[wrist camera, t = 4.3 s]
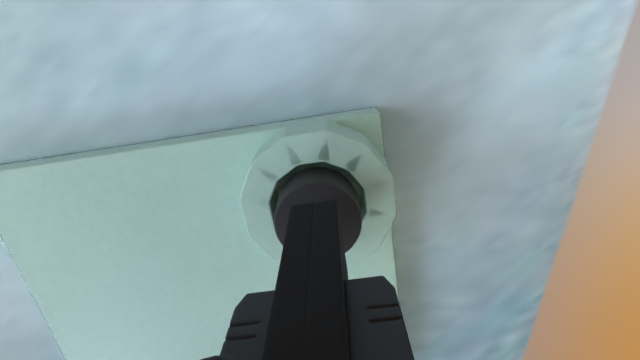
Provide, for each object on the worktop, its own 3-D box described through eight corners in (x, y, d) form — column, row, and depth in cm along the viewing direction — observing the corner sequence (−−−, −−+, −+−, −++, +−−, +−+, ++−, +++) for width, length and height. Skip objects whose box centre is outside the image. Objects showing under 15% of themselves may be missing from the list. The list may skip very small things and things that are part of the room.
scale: (99, 385, 23) (68, 434, 20) (-11, 165, 18) (-73, 190, 15) (402, 350, 22) (414, 398, 19) (377, 104, 17) (388, 120, 14)
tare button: (286, 243, 16) (282, 267, 15) (271, 172, 15) (265, 190, 13) (362, 233, 16) (366, 256, 14) (352, 161, 15) (356, 177, 13)
